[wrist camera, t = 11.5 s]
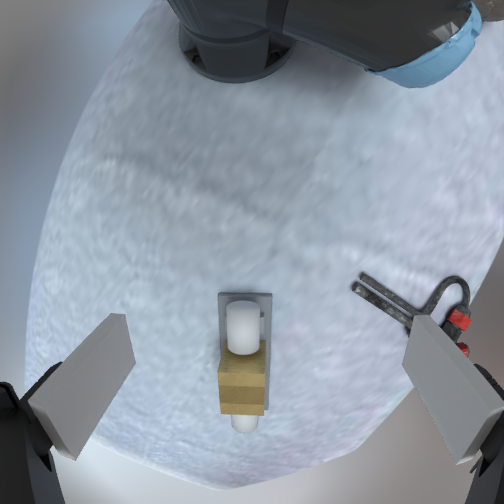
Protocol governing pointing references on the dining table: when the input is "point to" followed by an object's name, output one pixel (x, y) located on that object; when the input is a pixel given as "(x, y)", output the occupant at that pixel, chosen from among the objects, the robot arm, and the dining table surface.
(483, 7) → the bowl
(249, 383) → the cardboard box
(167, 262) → the dining table surface
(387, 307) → the valve
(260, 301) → the shaft bed
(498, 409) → the robot arm
